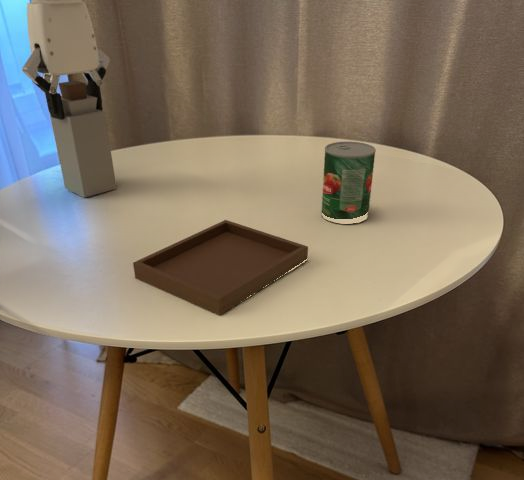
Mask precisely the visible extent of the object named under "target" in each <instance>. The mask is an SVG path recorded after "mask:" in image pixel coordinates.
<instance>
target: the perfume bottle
mask: <svg viewBox="0 0 524 480" xmlns="http://www.w3.org/2000/svg"><path fill="white" fill-rule="evenodd" d="M86 85H87V84H86V82H83V81H78V80H71V81H63V82H58V87H59V90H60V95H61V99H62V104H63V109H64V114H65V118H64V119H62V120H60V119H56V118H52V117H51V114H50V113H49V117H50V121H51V126H52V131H53V136H54V141H55V145H56V146H55V147H56V150H57V155H58V160H59V165H60V170H61V174H62V180H63V184H64V189H65V190H67V191H70V192H71V193H74V194H76V195H77V196H80V197H82V198H88V197H91V196H95V195H99V194H102V193H106V192H110V191H114V190H117V182H116V175H115V169H114V162H113V157H112V149H111V143H110V136H109V130H108V124H107V123H108V122H107V117H106V111H104V110H103V111H101V110H97V109H96V103H97V97H93V96H89V95H87V93H86Z"/></svg>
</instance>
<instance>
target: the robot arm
mask: <svg viewBox="0 0 524 480" xmlns="http://www.w3.org/2000/svg"><path fill="white" fill-rule="evenodd" d="M26 24H27V25H26V26H27V33H28V42H29V49H30V55H29V57H28V58H27V60H26V62H25V63H24V65H23V66H22V69H21V70H22V73H24V74H25V76H27V77H28V79H30V80H31V81H32V83H33V84H34V85H35V86H37V88H39V89H40V91H41V92H42V93H44V95H45V99H46V104H47V109H48V113H49V115H50V114H51V117H52V118H56V119H60V120H62V119H64V118H65V114H64V109H63V104H62V99H61V96H62V94H61V92H60V93H59V92H57V91H58V87H59V84H58V83H60V77H61V76H67V75H75V74H80V73H81V75H82V76H83V78H84V80H85V81H86V82H87V84H86V93H87V95H89V96H93V97H97V103H96V109H97V110H101V111H104V110H103V109H104V108H103V99H102V93H101V87H102V85H103V79H104V78H105V76H106V74H107V70H108V67H109V65H110V62H111V58H110V57H109V55H107V54H106V53H105V52H104V51H103V50H101V48H99V47H98V44H97V40H96V35H95V30H94V26H93V22H92V19H91V16H90V12H89V10H88V7H87V4H86V1H83V0H31V2H27V3H26ZM39 73H40V74H42V76H41V75H40V74H39ZM51 117H50V118H51Z"/></svg>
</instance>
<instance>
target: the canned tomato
mask: <svg viewBox="0 0 524 480" xmlns="http://www.w3.org/2000/svg"><path fill="white" fill-rule="evenodd" d="M376 151H377V150H376V148H375V147H374V146H373V145H372V144H368V143H366V142H359V141H336V142H331V143H329V144H327V145H325V146H324V162H323V163H324V164H323V179H322V180H323V181H322V197H321V212H322V213H323V214H324V215H325V216H327V217H330V218H334V219H353V218H357V217H360V216H363V215H365V214H366V213H367V212H368V211H369V212H370V202H371V193H372V184H373V174H374V167H375V158H376V157H375V155H376ZM369 212H368V213H369Z"/></svg>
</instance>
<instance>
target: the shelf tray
mask: <svg viewBox="0 0 524 480" xmlns="http://www.w3.org/2000/svg"><path fill="white" fill-rule="evenodd" d="M307 258H309V246H307V245H305V244H301V243H299V242H295V241H292V240H289V239H286V238H283V237H280V236H277V235H274V234H270V233H269V232H268V233H267V232H265V231H261V230H259V229H256V228H253V227H249V226H246V225H242V224H239V223H237V222H234V221H231V220H228V219H223V220H222V221H220V222H218V223H216V224H213V225H211V226H209V227H207V228H205V229H202V230H201V231H200V230H199V231H198V232H196V233H194V234H192V235H190V236H188V237H185V238H183V239H181V240H179V241H176V242H174V243H172V244H170V245H168V246H166V247H164V248H162V249H159V250H157V251H155V252H153V253H150V254H149V255H146V256H145V257H142V258H139V259H137V260H136V261H134V262H133V261H132V267H133V272H134V278H135V279H137V280H139V281H141V282H144V283H146V284H148V285H150V286H153V287H155V288H157V289H159V290H162V291H164V292H166V293H169V294H170V295H173V296H175V297H178V298H179V299H182V300H183V301H186V302H187V303H191V304H193V305H195V306H197V307H199V308H202V309H204V310H206V311H208V312H211V313H212V314H215V313H216V314H215V315H217V314H218V315H217V316H221V314H222V315H223V314H225V313H227V312H228V311H230V310H232V309H233V308H234V307H233V306H235V305H236V306H238V305H239V304H238V303H240V302H241V301H243V300H244V299H246V298H247V297H249V296H250V295H252V296H254V295H255V294H254V293H256V292H257V291H259V290H260V289H262V288H263V287H265V286H266V285H268V284H270V283H271V282H273V281H274V280H276V279H277V278H279V277H280V276H282V275H284V274H285V273H286V272H288V271H289V270H291V269H292V268H294V267H295V266H297V265H299V264H300V263H302V262H303V261H304V260H306V259H307ZM284 276H285V275H284ZM276 281H277V280H276ZM273 283H274V282H273ZM270 285H271V284H270ZM268 286H269V285H268ZM265 288H266V287H265ZM262 290H263V289H262ZM260 291H261V290H260ZM260 291H259V292H260ZM257 293H258V292H257ZM257 293H256V294H257ZM253 294H254V295H253ZM249 298H250V297H249ZM246 300H247V299H246ZM244 301H245V300H244ZM244 301H243V302H244ZM241 303H242V302H241ZM241 303H240V304H241ZM237 304H238V305H237ZM236 306H235V307H236ZM232 307H233V308H232ZM229 309H230V310H229ZM227 310H228V311H227ZM226 311H227V312H226Z"/></svg>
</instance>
